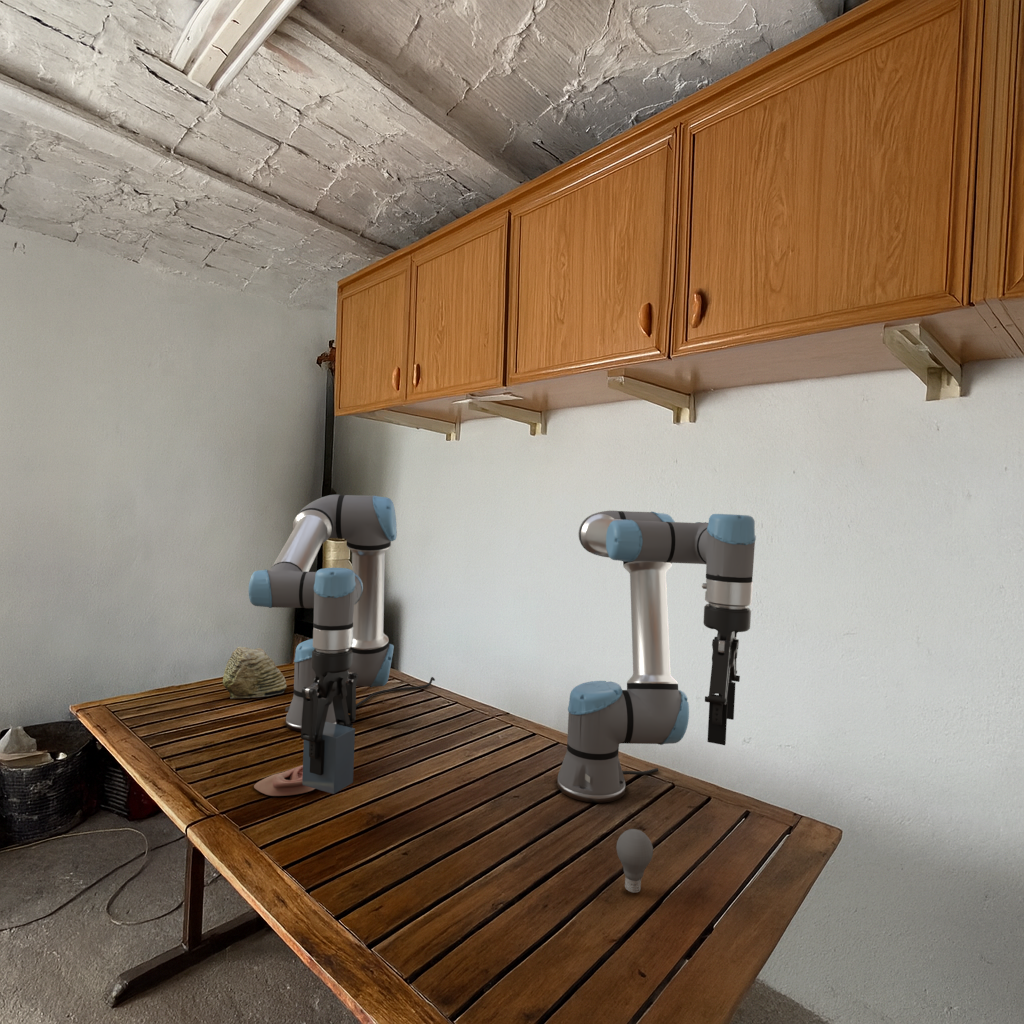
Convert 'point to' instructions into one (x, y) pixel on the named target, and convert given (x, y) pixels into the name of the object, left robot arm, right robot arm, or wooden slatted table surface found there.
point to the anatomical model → (283, 783)
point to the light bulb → (634, 857)
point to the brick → (332, 760)
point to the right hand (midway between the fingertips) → (721, 729)
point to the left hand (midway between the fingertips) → (328, 766)
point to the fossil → (252, 674)
